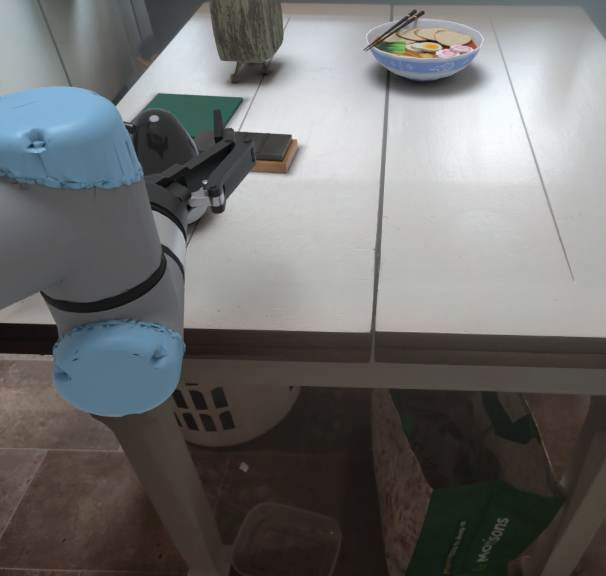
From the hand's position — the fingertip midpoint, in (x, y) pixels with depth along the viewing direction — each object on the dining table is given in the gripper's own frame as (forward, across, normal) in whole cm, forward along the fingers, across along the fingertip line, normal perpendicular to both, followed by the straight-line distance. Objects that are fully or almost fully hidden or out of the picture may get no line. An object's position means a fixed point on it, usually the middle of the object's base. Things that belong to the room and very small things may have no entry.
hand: (153, 127), depth 64 cm
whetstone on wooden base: (+25, +8, -17) cm, 31 cm away
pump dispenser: (+10, -2, -18) cm, 20 cm away
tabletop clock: (+59, +12, -17) cm, 63 cm away
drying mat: (+42, -1, -17) cm, 45 cm away
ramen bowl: (+51, +44, -18) cm, 70 cm away
